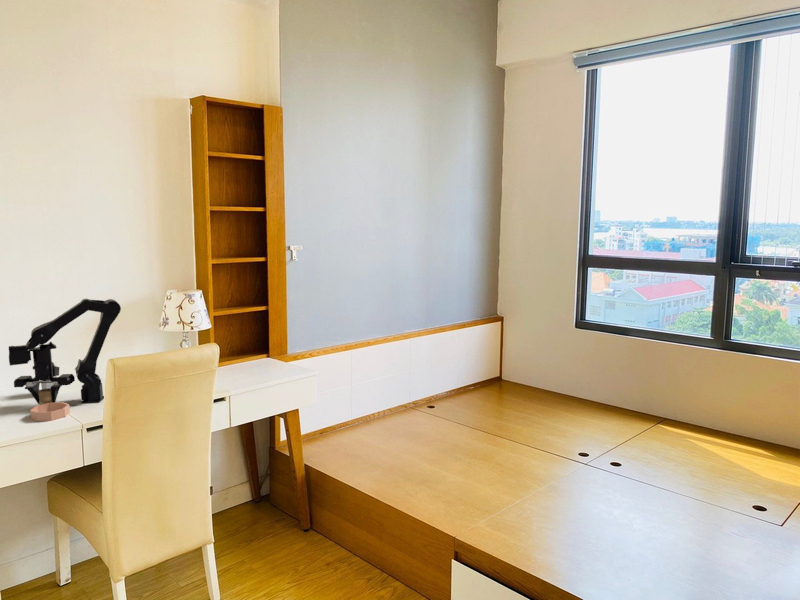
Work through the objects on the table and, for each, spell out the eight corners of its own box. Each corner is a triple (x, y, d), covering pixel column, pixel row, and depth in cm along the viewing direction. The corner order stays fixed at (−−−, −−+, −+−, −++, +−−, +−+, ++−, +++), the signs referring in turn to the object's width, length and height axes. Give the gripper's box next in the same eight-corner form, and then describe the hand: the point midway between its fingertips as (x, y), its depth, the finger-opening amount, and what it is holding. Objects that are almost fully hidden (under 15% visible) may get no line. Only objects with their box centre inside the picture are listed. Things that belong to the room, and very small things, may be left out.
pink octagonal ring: (73, 409, 227) (72, 401, 226) (61, 420, 216) (60, 411, 216) (40, 411, 225) (39, 403, 225) (26, 421, 214) (25, 413, 214)
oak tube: (56, 405, 232) (54, 387, 231) (51, 409, 228) (49, 391, 227) (43, 405, 232) (41, 388, 231) (37, 409, 227) (36, 391, 226)
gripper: (78, 355, 236) (81, 395, 239) (25, 357, 234) (29, 397, 236) (67, 362, 225) (70, 404, 228) (11, 364, 223) (15, 407, 225)
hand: (46, 403), depth 230 cm, fingers closed on oak tube, 5 cm apart
